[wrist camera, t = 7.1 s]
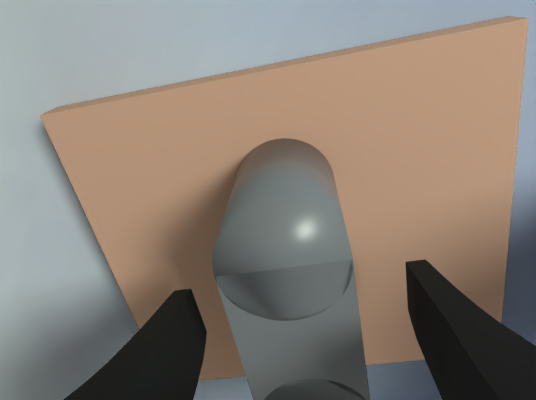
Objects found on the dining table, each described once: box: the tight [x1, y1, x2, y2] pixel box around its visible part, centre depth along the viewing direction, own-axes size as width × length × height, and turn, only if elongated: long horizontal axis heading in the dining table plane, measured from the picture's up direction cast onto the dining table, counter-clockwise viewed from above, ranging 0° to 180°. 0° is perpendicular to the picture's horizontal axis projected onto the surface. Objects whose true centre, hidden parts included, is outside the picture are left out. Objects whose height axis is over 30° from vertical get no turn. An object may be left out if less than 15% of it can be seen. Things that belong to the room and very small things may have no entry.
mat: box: [40, 16, 529, 380], centre depth 16 cm, size 16×14×1 cm
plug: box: [212, 138, 370, 400], centre depth 14 cm, size 4×11×5 cm, turn 11°
